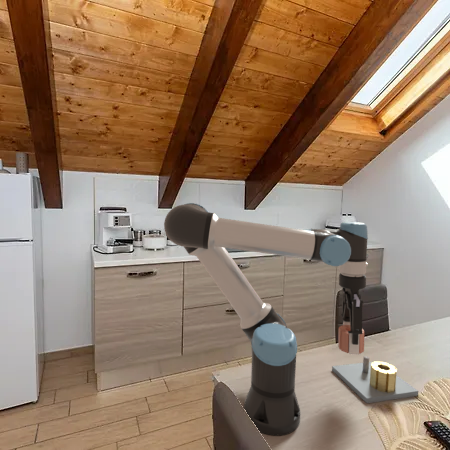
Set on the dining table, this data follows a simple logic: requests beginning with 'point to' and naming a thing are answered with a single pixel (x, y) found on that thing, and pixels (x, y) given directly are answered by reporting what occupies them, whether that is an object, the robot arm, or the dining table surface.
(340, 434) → the dining table surface
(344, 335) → the gear red
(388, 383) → the gear brass
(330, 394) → the dining table surface
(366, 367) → the peg board
